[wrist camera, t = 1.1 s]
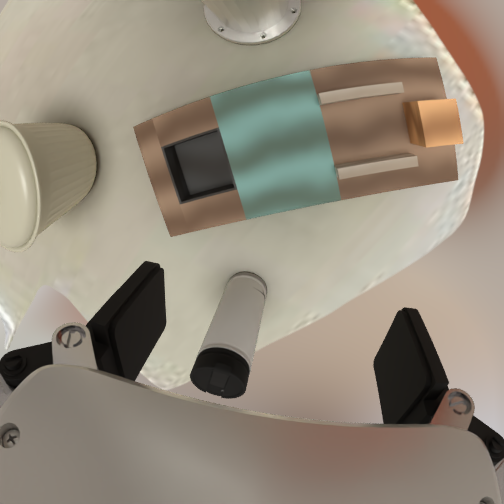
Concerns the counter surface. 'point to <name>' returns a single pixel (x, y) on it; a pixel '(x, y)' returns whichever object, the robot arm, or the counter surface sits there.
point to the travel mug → (231, 338)
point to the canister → (40, 178)
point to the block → (433, 122)
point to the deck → (293, 143)
